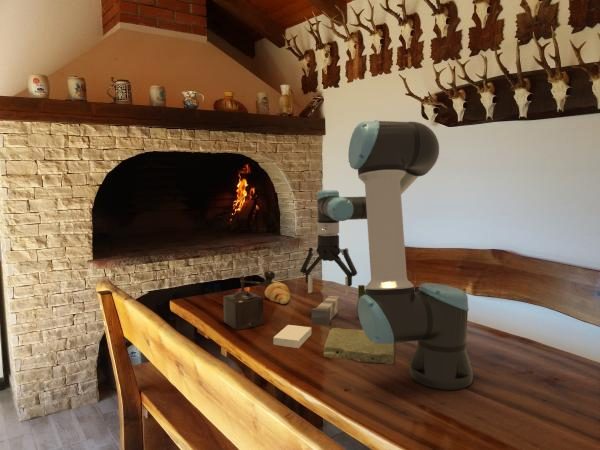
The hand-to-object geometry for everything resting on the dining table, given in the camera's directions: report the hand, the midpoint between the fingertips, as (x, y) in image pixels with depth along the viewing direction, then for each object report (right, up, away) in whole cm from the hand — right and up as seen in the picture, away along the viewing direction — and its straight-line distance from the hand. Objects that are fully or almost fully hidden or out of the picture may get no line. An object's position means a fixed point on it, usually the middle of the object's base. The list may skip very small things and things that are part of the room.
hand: (328, 293), depth 161 cm
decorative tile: (+7, -13, -28) cm, 32 cm away
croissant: (-20, -6, +23) cm, 31 cm away
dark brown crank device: (-27, -9, -5) cm, 29 cm away
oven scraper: (0, -8, +1) cm, 8 cm away
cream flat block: (-10, -9, -16) cm, 21 cm away
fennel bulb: (+12, -9, -2) cm, 15 cm away
